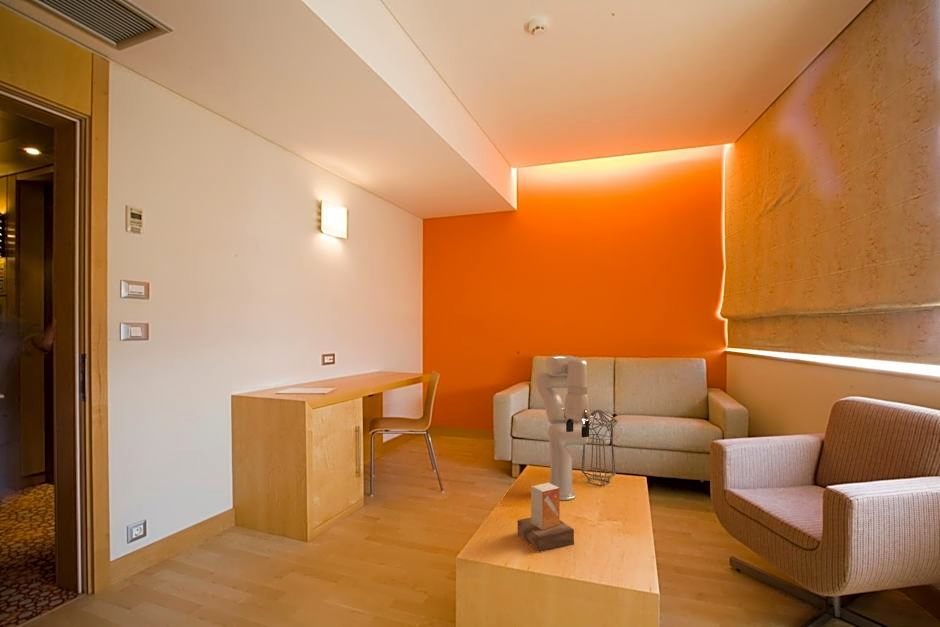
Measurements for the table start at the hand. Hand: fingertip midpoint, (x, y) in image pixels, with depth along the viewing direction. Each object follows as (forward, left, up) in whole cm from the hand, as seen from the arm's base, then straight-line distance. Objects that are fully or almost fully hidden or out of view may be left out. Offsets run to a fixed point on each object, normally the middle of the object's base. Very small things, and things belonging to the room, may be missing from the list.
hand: (577, 434), depth 170 cm
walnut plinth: (+10, -22, -32) cm, 40 cm away
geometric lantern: (-30, +36, -32) cm, 57 cm away
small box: (+10, -22, -27) cm, 37 cm away
